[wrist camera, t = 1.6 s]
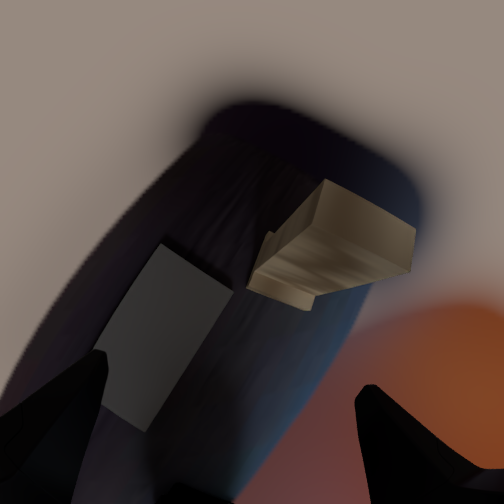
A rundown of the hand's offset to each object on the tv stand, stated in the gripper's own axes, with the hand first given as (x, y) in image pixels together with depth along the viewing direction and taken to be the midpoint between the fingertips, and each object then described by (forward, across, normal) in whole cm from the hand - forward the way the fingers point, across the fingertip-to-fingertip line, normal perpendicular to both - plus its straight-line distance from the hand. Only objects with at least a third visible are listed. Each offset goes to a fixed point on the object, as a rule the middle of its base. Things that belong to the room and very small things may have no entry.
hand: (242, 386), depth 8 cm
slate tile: (+11, +5, +9) cm, 15 cm away
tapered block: (+16, -5, +3) cm, 17 cm away
